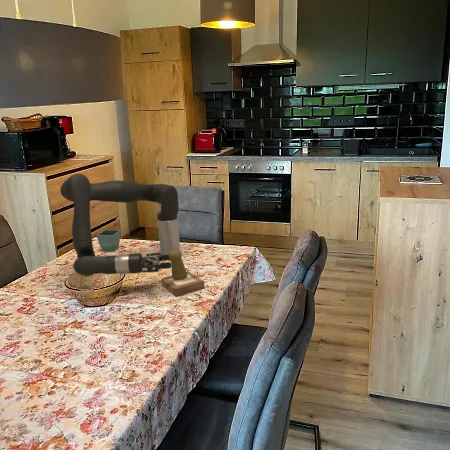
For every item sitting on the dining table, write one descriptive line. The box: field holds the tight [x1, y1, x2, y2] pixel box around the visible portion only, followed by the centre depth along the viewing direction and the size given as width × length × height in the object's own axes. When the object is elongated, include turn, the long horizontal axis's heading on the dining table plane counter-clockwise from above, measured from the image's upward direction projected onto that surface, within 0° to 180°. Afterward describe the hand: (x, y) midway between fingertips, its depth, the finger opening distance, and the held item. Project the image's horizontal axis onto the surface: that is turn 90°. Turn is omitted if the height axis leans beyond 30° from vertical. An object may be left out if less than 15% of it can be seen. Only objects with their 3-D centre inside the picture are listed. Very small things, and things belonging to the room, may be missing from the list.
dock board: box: [160, 270, 205, 298], centre depth 170 cm, size 13×12×3 cm
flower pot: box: [96, 229, 121, 252], centre depth 217 cm, size 9×9×9 cm
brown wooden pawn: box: [168, 249, 187, 280], centre depth 170 cm, size 6×6×11 cm
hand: (171, 261), depth 167 cm, fingers open, 8 cm apart
